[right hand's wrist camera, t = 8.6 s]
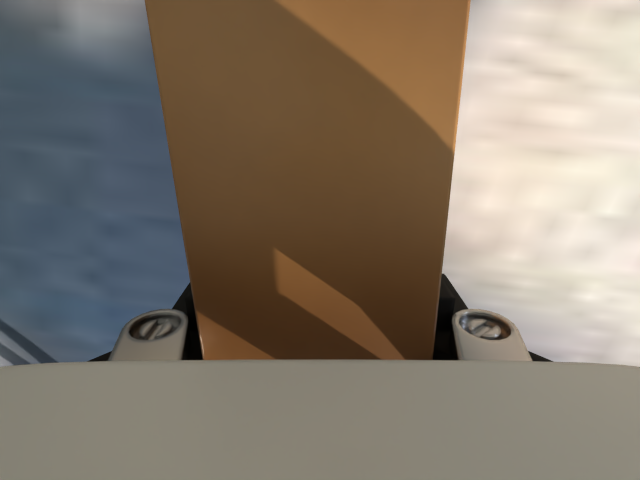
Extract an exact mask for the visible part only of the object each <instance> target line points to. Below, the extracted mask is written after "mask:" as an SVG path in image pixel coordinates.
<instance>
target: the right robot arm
mask: <svg viewBox="0 0 640 480" xmlns="http://www.w3.org/2000/svg"><path fill="white" fill-rule="evenodd" d="M0 480H640V367H635V366H626V365H614V364H597V363H576V362H553V361H551V360H548V359H546V358H544V357H541V356H539V355H536V354H534V353H532V352H529V351H528V350H527V348H526V346H525V344H524V341H523V339H522V337H521V335H520V333H519V330H518V329H517V327H516V326H515V324H514V323H512V322H511V321H510V320H509V319H507V318H505V317H503V316H501V315H499V314H497V313H494V312H491V311H487V310H481V309H468V308H467V306H466V305H465V303H464V302H463V300H462V299H461V297H460V296H459V294H458V293H457V292H456V290H455V289H454V287H453V286H452V284H451V283H450V281H449V280H448V278H447V277H446V276H445V275H444V274H442V275H441V285H440V294H439V304H438V313H437V323H436V332H435V341H434V351H433V360H203V357H202V351H201V345H200V339H199V333H198V326H197V320H196V314H195V308H194V302H193V296H192V289H191V283H189V285H188V286H187V287H186V289H185V290H184V292H183V293H182V295H181V296H180V298H179V299H178V301H177V302H176V304H175V305H174V307H173V308H172V309H159V310H153V311H149V312H146V313H143V314H141V315H139V316H137V317H135V318H133V319H131V320H130V321H129V322H128V323H126V324H125V326H124V327H123V329H122V330H121V333H120V335H119V337H118V339H117V341H116V344H115V346H114V348H113V350H112V351H111V352H109V353H106V354H104V355H101V356H99V357H97V358H94V359H92V360H90V361H87V362H66V363H42V364H27V365H13V366H5V367H0Z"/></svg>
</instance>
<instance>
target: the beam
mask: <svg viewBox="0 0 640 480" xmlns="http://www.w3.org/2000/svg"><path fill="white" fill-rule="evenodd" d="M470 1H471V0H145V5H146V11H147V17H148V24H149V30H150V36H151V42H152V48H153V54H154V61H155V67H156V73H157V79H158V85H159V92H160V98H161V104H162V110H163V116H164V122H165V129H166V135H167V141H168V147H169V153H170V160H171V166H172V172H173V178H174V184H175V190H176V197H177V203H178V209H179V215H180V221H181V228H182V234H183V240H184V246H185V252H186V258H187V265H188V271H189V277H190V283H191V289H192V296H193V302H194V308H195V314H196V320H197V326H198V333H199V339H200V345H201V351H202V357H203V360H433V351H434V341H435V332H436V323H437V313H438V304H439V294H440V285H441V275H442V266H443V256H444V247H445V237H446V228H447V218H448V209H449V199H450V190H451V181H452V171H453V162H454V152H455V143H456V133H457V124H458V114H459V105H460V95H461V86H462V76H463V67H464V58H465V48H466V39H467V29H468V20H469V10H470Z"/></svg>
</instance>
